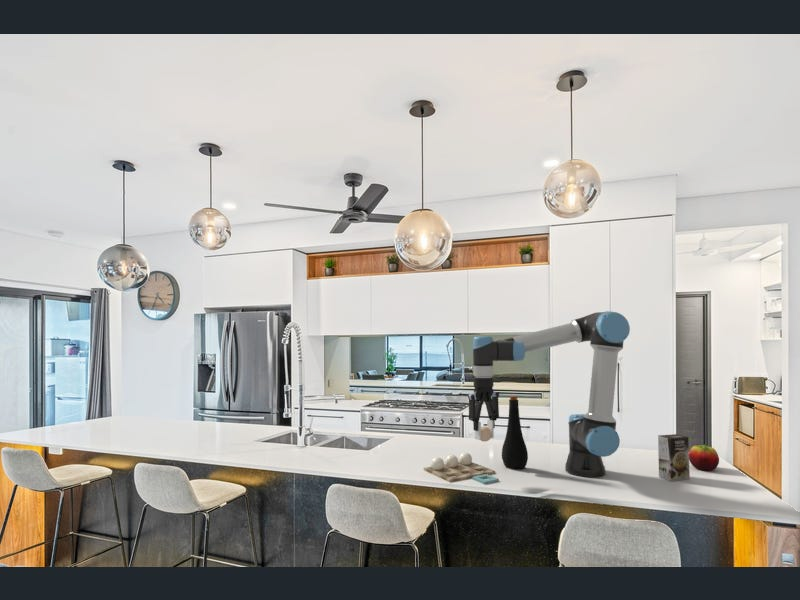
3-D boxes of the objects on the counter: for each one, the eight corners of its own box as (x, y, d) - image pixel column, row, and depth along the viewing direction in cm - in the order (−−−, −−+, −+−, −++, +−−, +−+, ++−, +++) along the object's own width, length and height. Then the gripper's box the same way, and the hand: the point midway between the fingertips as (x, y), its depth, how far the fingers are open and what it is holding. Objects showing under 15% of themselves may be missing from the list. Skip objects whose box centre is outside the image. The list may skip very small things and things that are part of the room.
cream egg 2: (461, 469, 201) (461, 455, 202) (450, 471, 199) (450, 457, 199) (453, 465, 206) (453, 452, 206) (442, 467, 203) (442, 454, 204)
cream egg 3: (475, 466, 205) (474, 453, 205) (464, 468, 202) (464, 454, 202) (466, 463, 209) (466, 450, 210) (456, 465, 207) (456, 452, 207)
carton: (467, 465, 211) (467, 460, 211) (495, 476, 195) (495, 470, 196) (423, 472, 200) (423, 467, 200) (449, 485, 185) (449, 479, 185)
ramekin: (498, 484, 185) (498, 478, 185) (484, 487, 182) (484, 481, 182) (486, 479, 191) (486, 474, 192) (472, 482, 188) (472, 476, 188)
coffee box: (671, 481, 187) (670, 438, 188) (658, 476, 194) (656, 434, 194) (690, 479, 190) (689, 436, 191) (677, 474, 196) (675, 433, 197)
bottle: (496, 467, 208) (495, 395, 209) (518, 464, 211) (517, 393, 213) (511, 474, 198) (509, 398, 199) (533, 471, 201) (532, 397, 203)
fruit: (719, 467, 205) (718, 443, 206) (720, 474, 196) (719, 448, 197) (689, 464, 211) (688, 440, 211) (688, 470, 201) (688, 445, 202)
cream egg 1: (447, 471, 198) (446, 457, 198) (435, 473, 195) (435, 459, 195) (439, 468, 203) (439, 454, 203) (428, 470, 200) (427, 456, 200)
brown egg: (494, 442, 187) (494, 427, 187) (483, 443, 184) (483, 428, 184) (485, 439, 191) (485, 424, 192) (474, 440, 189) (473, 426, 189)
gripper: (495, 374, 197) (496, 433, 196) (457, 377, 188) (458, 439, 186) (508, 376, 190) (509, 437, 189) (470, 379, 181) (471, 443, 180)
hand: (484, 438), depth 188 cm, fingers closed on brown egg, 5 cm apart
